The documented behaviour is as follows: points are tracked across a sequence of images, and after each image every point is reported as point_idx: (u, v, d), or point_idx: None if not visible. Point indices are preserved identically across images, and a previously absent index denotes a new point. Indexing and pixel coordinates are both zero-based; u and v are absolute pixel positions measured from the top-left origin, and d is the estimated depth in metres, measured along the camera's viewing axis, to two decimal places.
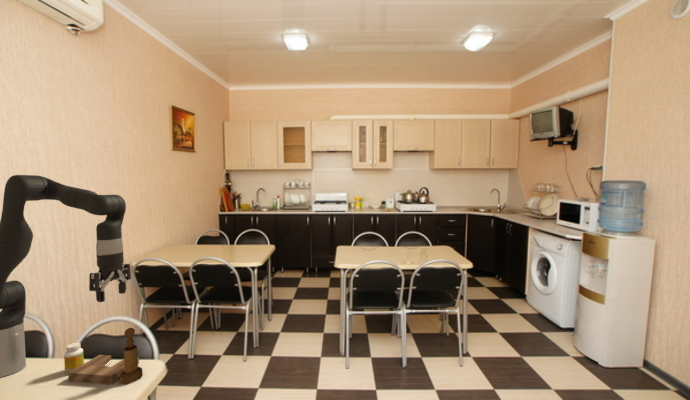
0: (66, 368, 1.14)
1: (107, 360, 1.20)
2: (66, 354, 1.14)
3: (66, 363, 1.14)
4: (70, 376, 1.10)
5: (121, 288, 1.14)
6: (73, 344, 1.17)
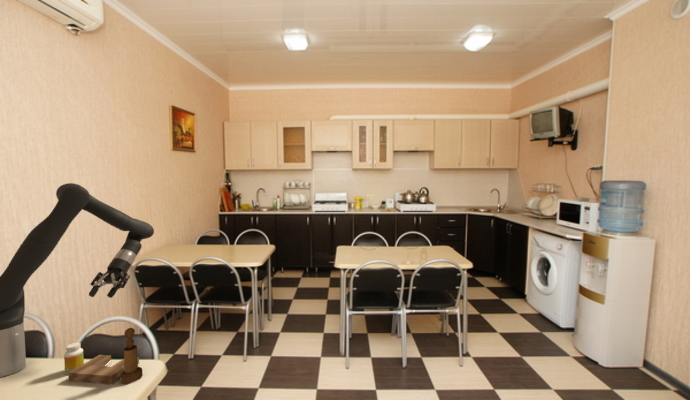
0: (66, 368, 1.14)
1: (107, 360, 1.20)
2: (66, 354, 1.14)
3: (66, 363, 1.14)
4: (70, 376, 1.10)
5: (94, 292, 1.29)
6: (73, 344, 1.17)
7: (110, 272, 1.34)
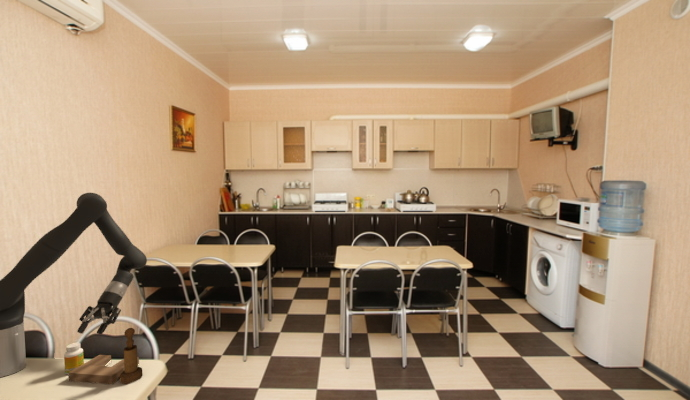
0: (66, 368, 1.14)
1: (107, 360, 1.20)
2: (66, 354, 1.14)
3: (66, 363, 1.14)
4: (70, 376, 1.10)
5: (83, 328, 1.25)
6: (73, 344, 1.17)
7: (100, 306, 1.29)
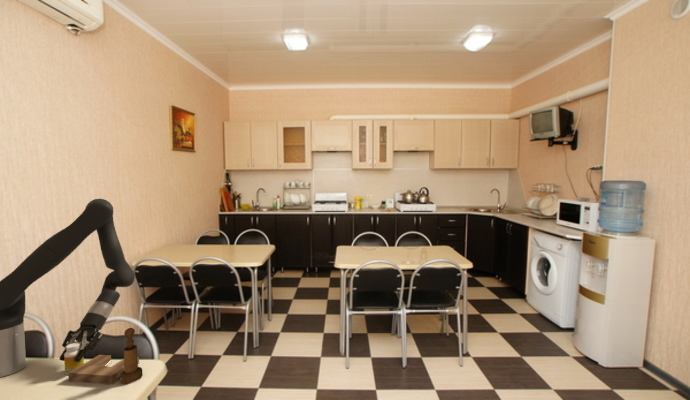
0: (66, 368, 1.14)
1: (107, 360, 1.20)
2: (66, 354, 1.14)
3: (66, 363, 1.14)
4: (70, 376, 1.10)
5: None
6: (73, 344, 1.17)
7: (83, 329, 1.22)
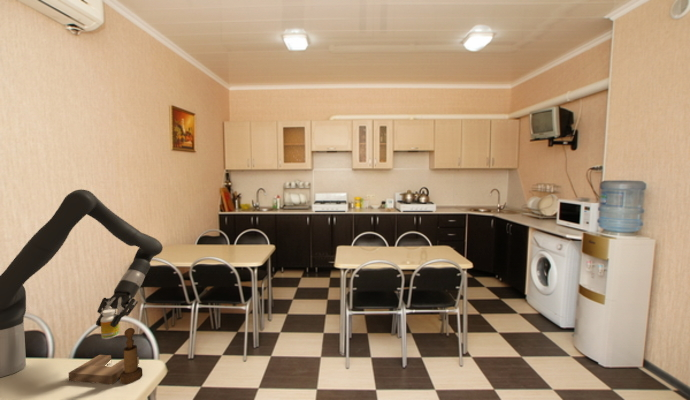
0: (103, 333, 1.15)
1: (107, 360, 1.20)
2: (103, 319, 1.15)
3: (103, 328, 1.15)
4: (70, 376, 1.10)
5: None
6: (108, 309, 1.18)
7: (117, 296, 1.22)
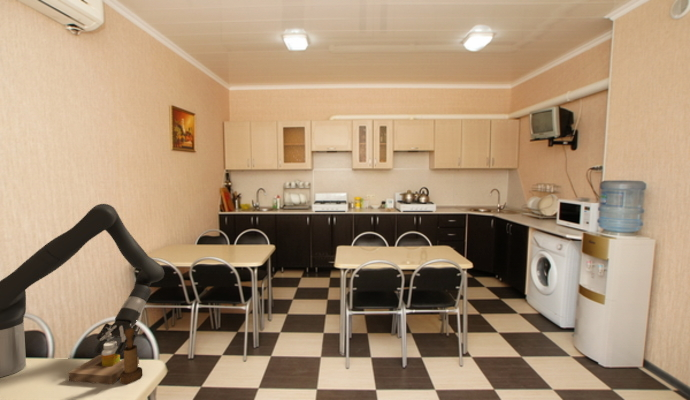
0: None
1: None
2: (104, 352, 1.15)
3: (104, 361, 1.15)
4: (70, 376, 1.10)
5: (101, 347, 1.18)
6: (109, 342, 1.18)
7: (118, 324, 1.22)
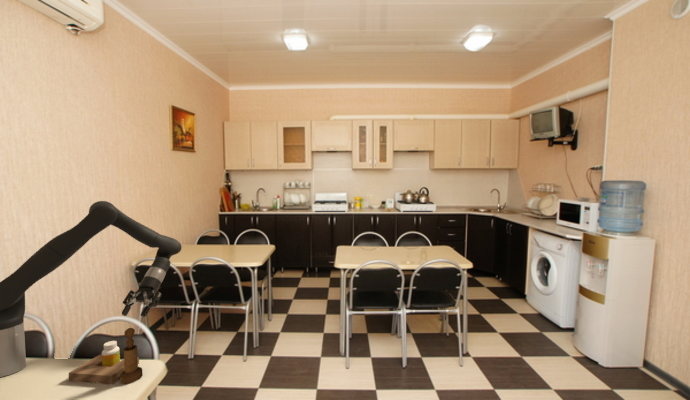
0: None
1: None
2: (104, 352, 1.15)
3: (104, 361, 1.15)
4: (70, 376, 1.10)
5: (127, 310, 1.30)
6: (109, 342, 1.18)
7: (142, 290, 1.34)
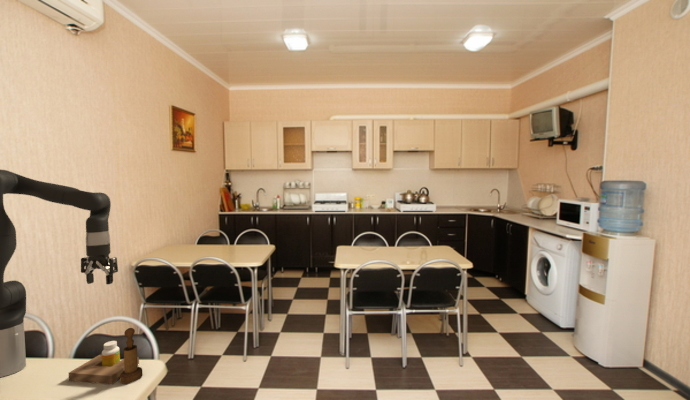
0: None
1: None
2: (104, 352, 1.15)
3: (104, 361, 1.15)
4: (70, 376, 1.10)
5: (91, 278, 1.25)
6: (109, 342, 1.18)
7: (93, 258, 1.23)
